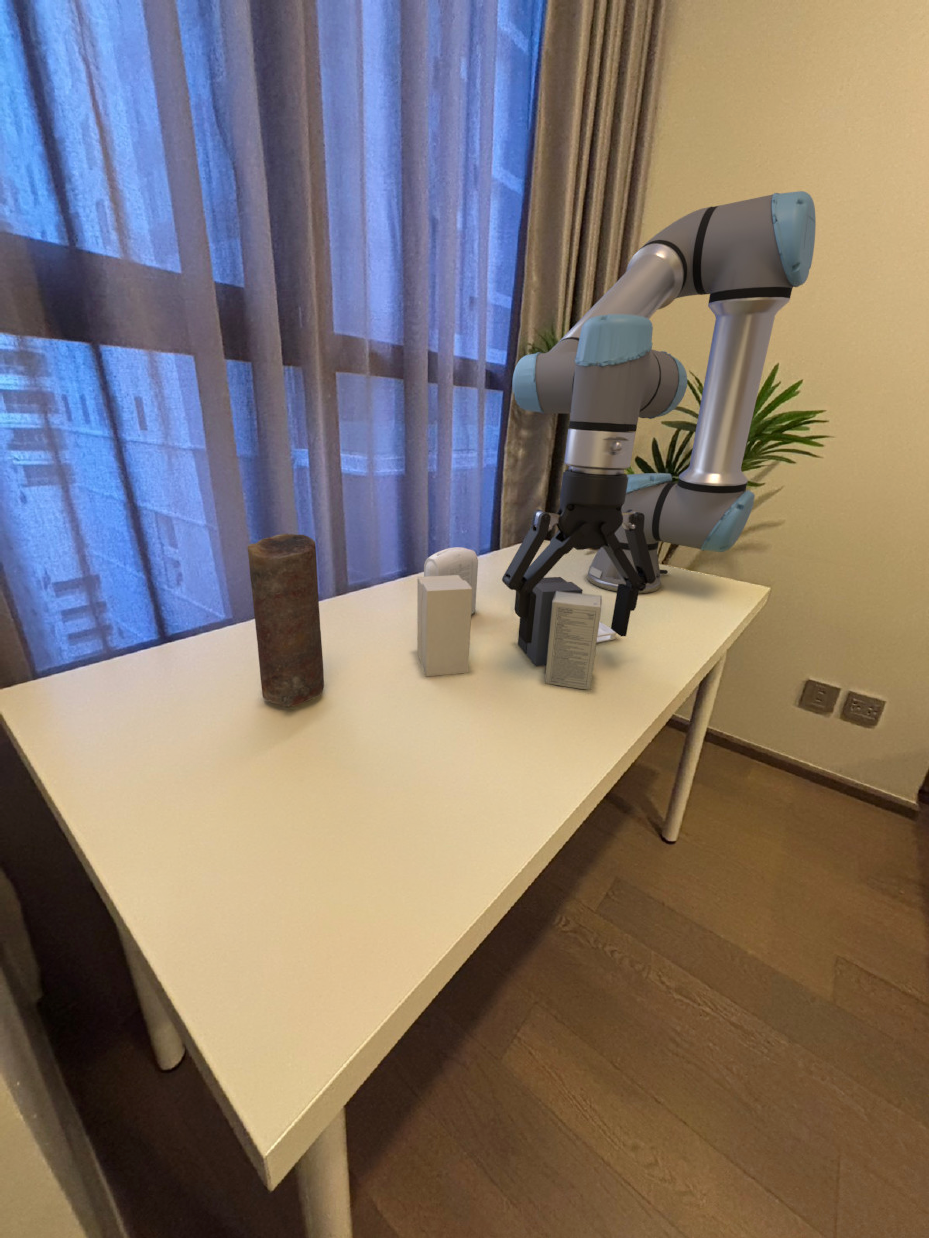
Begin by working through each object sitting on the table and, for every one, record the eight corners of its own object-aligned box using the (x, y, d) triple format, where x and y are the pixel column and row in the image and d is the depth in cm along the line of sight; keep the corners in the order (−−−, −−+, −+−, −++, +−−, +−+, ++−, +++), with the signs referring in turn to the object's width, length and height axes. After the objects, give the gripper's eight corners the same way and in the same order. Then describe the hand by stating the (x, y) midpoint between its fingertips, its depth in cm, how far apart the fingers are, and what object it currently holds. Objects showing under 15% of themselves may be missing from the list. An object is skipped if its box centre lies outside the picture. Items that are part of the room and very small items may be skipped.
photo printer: (462, 606, 93) (465, 541, 89) (479, 613, 91) (482, 546, 86) (419, 620, 87) (419, 550, 82) (435, 628, 84) (436, 556, 79)
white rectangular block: (456, 649, 77) (458, 571, 72) (468, 672, 71) (472, 588, 66) (417, 652, 76) (417, 573, 71) (426, 676, 69) (427, 590, 64)
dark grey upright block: (552, 641, 81) (560, 573, 76) (572, 662, 75) (582, 589, 70) (517, 644, 80) (523, 575, 75) (534, 666, 73) (542, 591, 69)
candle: (339, 693, 64) (328, 539, 56) (294, 721, 58) (275, 553, 51) (296, 676, 68) (281, 529, 60) (250, 701, 62) (226, 541, 54)
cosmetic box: (591, 676, 71) (604, 595, 66) (589, 691, 67) (603, 607, 62) (546, 669, 72) (556, 589, 68) (542, 683, 68) (552, 600, 64)
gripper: (505, 471, 52) (491, 654, 60) (708, 475, 59) (671, 641, 67) (484, 464, 59) (474, 629, 67) (668, 468, 65) (639, 619, 73)
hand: (572, 635), depth 67 cm, fingers open, 13 cm apart
